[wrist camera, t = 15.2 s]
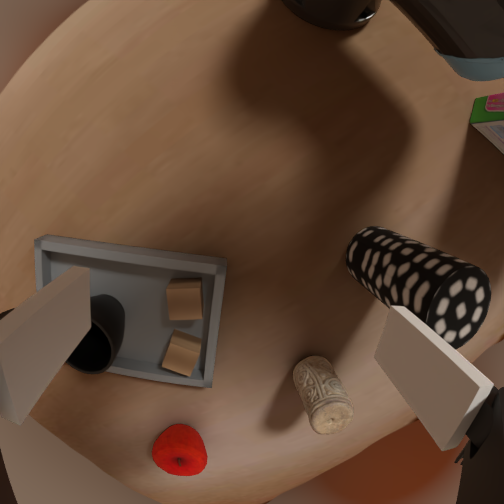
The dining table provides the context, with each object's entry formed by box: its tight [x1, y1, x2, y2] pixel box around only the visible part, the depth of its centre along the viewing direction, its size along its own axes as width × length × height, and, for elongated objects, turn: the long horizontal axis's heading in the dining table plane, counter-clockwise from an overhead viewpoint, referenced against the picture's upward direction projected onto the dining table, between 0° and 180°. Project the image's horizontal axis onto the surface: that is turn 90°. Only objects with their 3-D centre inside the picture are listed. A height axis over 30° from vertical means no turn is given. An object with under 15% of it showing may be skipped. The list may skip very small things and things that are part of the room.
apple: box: [152, 424, 207, 476], centre depth 44 cm, size 9×9×8 cm
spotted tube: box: [346, 226, 491, 349], centre depth 33 cm, size 8×8×20 cm
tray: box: [34, 235, 227, 388], centre depth 40 cm, size 18×26×4 cm
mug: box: [65, 294, 125, 374], centre depth 36 cm, size 8×12×10 cm
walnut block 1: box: [166, 277, 204, 320], centre depth 39 cm, size 4×4×4 cm
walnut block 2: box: [162, 329, 202, 376], centre depth 41 cm, size 4×4×4 cm
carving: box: [293, 356, 354, 434], centre depth 41 cm, size 6×8×12 cm
